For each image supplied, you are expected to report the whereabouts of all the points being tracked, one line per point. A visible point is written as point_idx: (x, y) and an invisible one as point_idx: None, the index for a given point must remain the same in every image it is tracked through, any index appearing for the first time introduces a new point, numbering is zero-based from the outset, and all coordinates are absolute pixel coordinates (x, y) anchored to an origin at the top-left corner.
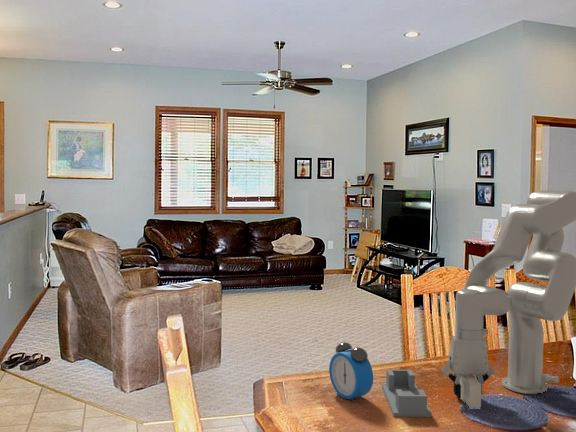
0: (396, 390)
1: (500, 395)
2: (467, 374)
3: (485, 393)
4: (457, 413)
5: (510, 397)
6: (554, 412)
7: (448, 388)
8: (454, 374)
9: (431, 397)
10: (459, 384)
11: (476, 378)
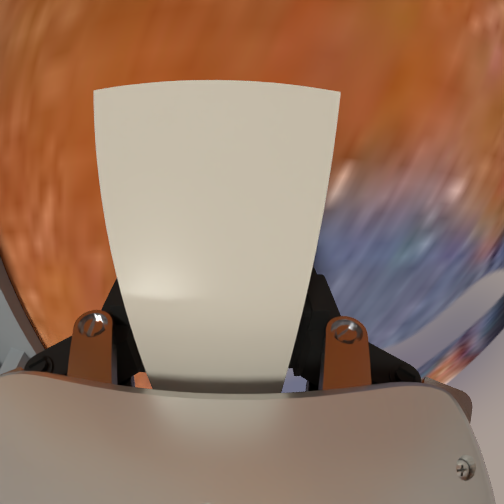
0: None
1: (444, 209)
2: (221, 392)
3: (388, 170)
4: (141, 379)
5: (464, 238)
6: (469, 345)
7: (139, 60)
8: (78, 377)
9: (28, 236)
10: (140, 365)
11: (323, 345)
